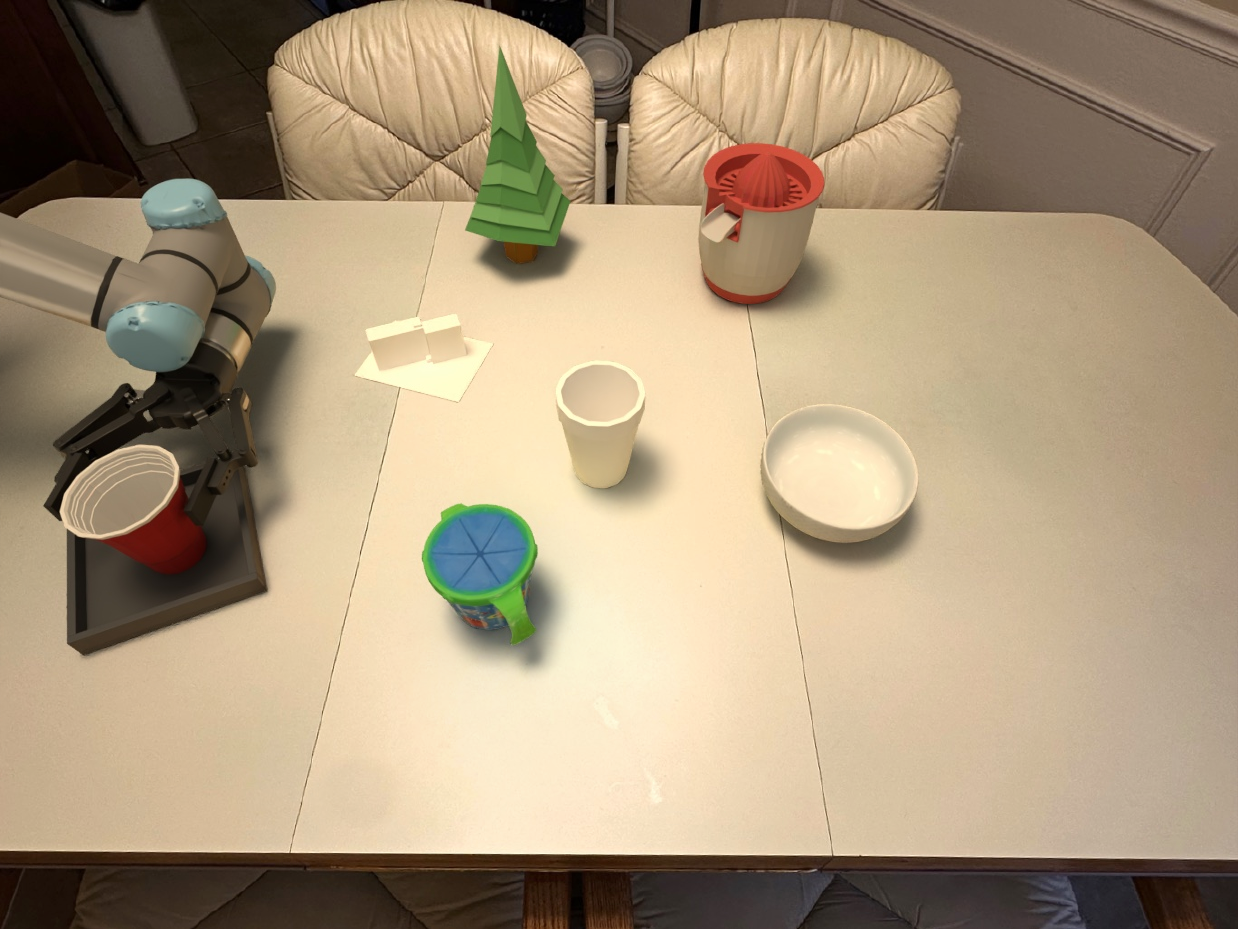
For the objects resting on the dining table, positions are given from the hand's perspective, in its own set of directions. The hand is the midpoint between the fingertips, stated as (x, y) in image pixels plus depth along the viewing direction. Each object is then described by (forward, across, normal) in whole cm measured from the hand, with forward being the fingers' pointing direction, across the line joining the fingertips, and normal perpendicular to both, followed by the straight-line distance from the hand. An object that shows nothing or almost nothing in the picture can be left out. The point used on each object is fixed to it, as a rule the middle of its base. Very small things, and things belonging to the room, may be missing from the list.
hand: (123, 516), depth 73 cm
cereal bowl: (-11, -72, -9) cm, 74 cm away
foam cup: (-15, -46, -9) cm, 49 cm away
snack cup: (+3, -36, -9) cm, 37 cm away
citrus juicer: (-49, -65, -9) cm, 82 cm away
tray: (-1, 0, -9) cm, 9 cm away
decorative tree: (-54, -32, -9) cm, 64 cm away
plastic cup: (-1, -1, -8) cm, 8 cm away
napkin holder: (-32, -22, -9) cm, 39 cm away
